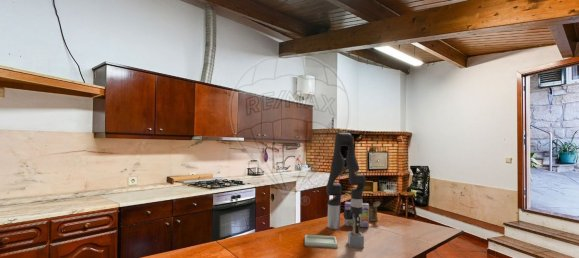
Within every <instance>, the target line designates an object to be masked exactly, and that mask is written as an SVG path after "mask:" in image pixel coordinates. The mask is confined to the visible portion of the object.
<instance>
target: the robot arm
mask: <svg viewBox="0 0 579 258" xmlns="http://www.w3.org/2000/svg"><path fill="white" fill-rule="evenodd" d="M342 147H348V152H347V154H346V159H345V158H344V156H343V155H342V152H341V148H342ZM345 163H346V166H347V170H348V182H349V184H350V185H351V186H356V187H355V188H352V189H351V190H350V191H351V192H350V193H351V194H350V202H351V207H350V212H351V213H353V220H352V221H353V224H355V233H356V234H359V232H360V217H359V214H362V212H363V193H364V190H365V189H364V188H365V185H366V180H367V179H366V176H365V174H363V173H358V172H359V171H360V166H359V163H358V160H357V157H356V150H355V145H354V138H353V135H352V134H351V133H350V132H338V133H337V134H336V135H335V138H334V148H333V155H332V161H331V165H330V172H329V176H328V180H327V182H326V183H327V184H326V188H325V189H326V190H325V191H326V194H327V196H334V197H333V198H330V199H329V200H328V201H327V225H326V226H327V228H328V229H331V230H339V229H340V228H341V226H340V225H341V201H342V185H341V183H339V182H338V183H337V182H335V181H336V180H337V179H338V177H340V176H341V175H342V173H343V172H344V169H345ZM357 224H358V225H357Z"/></svg>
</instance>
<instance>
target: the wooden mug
mask: <svg viewBox="0 0 579 258" xmlns="http://www.w3.org/2000/svg"><path fill="white" fill-rule="evenodd" d="M372 204H373V205H369V222H372V223H373V222H379V219H378V207H379V206H380V205H381V201H380V200H377V201H375V202H373V203H372Z"/></svg>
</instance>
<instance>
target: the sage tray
mask: <svg viewBox="0 0 579 258" xmlns="http://www.w3.org/2000/svg"><path fill="white" fill-rule="evenodd" d="M304 246H305V247H312V248H313V247H314V248H331V249H332V248H333V249H338V241H337V237H336V236H334V235H317V234H305V235H304Z"/></svg>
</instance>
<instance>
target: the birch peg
mask: <svg viewBox="0 0 579 258" xmlns="http://www.w3.org/2000/svg"><path fill="white" fill-rule="evenodd" d="M357 225H358V224H357ZM352 232H353V235H359V234H356V233H355V224H353V226H352Z"/></svg>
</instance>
